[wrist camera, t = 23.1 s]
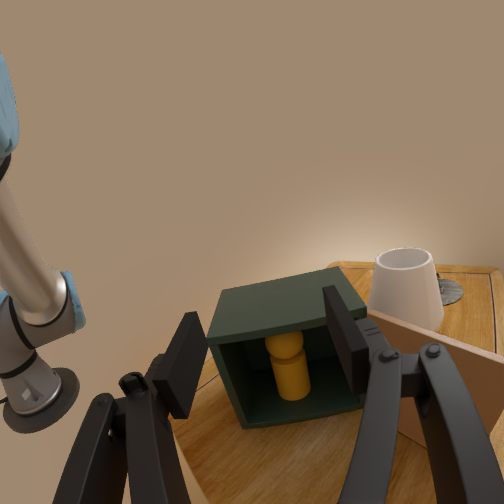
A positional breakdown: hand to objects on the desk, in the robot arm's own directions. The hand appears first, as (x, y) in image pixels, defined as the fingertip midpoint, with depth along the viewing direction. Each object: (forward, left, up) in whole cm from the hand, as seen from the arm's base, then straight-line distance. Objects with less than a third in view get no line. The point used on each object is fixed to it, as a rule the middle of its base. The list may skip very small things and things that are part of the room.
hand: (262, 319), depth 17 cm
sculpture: (+37, +25, -21) cm, 49 cm away
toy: (+3, +13, -19) cm, 24 cm away
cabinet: (+3, +14, -20) cm, 25 cm away
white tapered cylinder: (+22, +17, -21) cm, 35 cm away
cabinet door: (+15, -1, -20) cm, 25 cm away
